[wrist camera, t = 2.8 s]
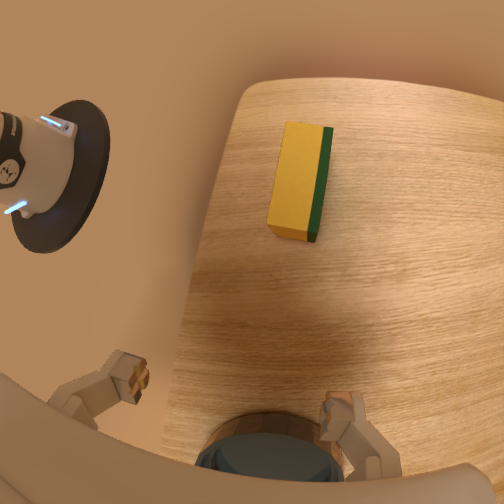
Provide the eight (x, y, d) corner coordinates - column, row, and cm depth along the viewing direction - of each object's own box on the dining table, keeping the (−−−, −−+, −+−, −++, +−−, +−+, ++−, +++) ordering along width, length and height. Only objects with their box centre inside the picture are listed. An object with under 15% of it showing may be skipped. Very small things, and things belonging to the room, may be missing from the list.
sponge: (276, 235, 29) (265, 224, 22) (291, 155, 30) (286, 120, 22) (314, 242, 29) (317, 233, 21) (328, 161, 29) (333, 127, 21)
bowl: (184, 457, 30) (169, 476, 25) (263, 384, 29) (255, 404, 24) (278, 515, 27) (274, 537, 22) (369, 455, 26) (375, 478, 21)
